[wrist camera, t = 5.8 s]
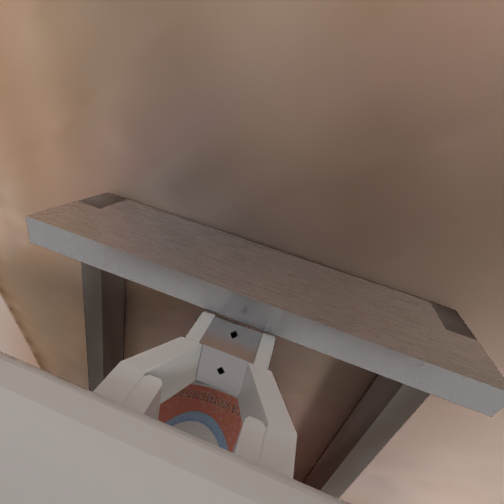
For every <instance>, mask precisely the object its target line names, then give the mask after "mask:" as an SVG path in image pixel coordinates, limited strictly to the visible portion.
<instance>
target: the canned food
mask: <svg viewBox="0 0 504 504" xmlns="http://www.w3.org/2000/svg"><path fill="white" fill-rule="evenodd" d="M237 397H238V396H235V395H233V394H231V393H228V392H226V391H224V390H222V389H219V388H217V387H215V386H212V385H209V384H207V383H204V382H201V381H197V380H195V381H194V382H192V383H191V384H189V385H188V386H186V387H185V388H183V389H182V390H180V391H179V392H178V393H176V394H175V395H173V396H172V397H170V398H169V399H167V400H166V401H164V402H163V403H161V404H160V409H159V417H158V420H159V421H161V422H163V423H166V424H168V425H170V426H173V427H175V428H177V429H179V430H182V431H184V432H186V433H189V434H191V435H193V436H196V437H198V438H200V439H202V440H205V441H207V442H209V443H212V444H214V445H216V446H219V447H221V448H223V449H225V450H228V451H230V452H232V451H233V449H234V446H235V443H236V441H237V438H238V435H239V433H240V430H241V427H242V420H241V415H240V409H239V404H238V399H237Z"/></svg>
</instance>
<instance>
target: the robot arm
mask: <svg viewBox="0 0 504 504" xmlns="http://www.w3.org/2000/svg"><path fill="white" fill-rule="evenodd" d="M262 333H263V332H260V331H257V330H255V329H252V328H249V327H246V326H244V325H241V324H238V323H235V322H233V321H230V320H228V319H225V318H223V317H220V316H218V315H215V314H212V313H210V312H207V311H204V312H202V313H201V315H200V316H199V318H198V319H197V321H196V322H195V323H194V325H193V326H192V328H191V329H190V331H189V332H188V334H187V335H186V336H185V338H184V337H182V336H181V337H178V338H176V339H173V340H171V341H169V342H166V343H164V344H161V345H159V346H156V347H154V348H152V349H149V350H147V351H144V352H142V353H139V354H137V355H135V356H132V357H130V358H127V359H125V360H122V361H120V362H119V364H118V365H117V366H116V367H115V368H114V369H113V370H112V371H111V372H110V373H109V375H108V376H107V377H106V378H105V379H104V380H103V381H102V382H101V383H100V385H99V386H98V387H97V388H96V389H95V390H94V391H93V392H92V391H90V390H88V389H85V388H83V387H81V386H78V385H76V384H74V383H72V382H69V381H67V380H65V379H62V378H60V377H58V376H55V375H53V374H51V373H49V372H46V371H44V370H42V369H39V368H37V367H35V366H33V365H30V364H28V363H26V362H23V361H21V360H19V359H16V358H14V357H12V356H10V355H7V354H5V353H3V352H0V504H350V503H347V502H345V501H343V500H340V499H338V498H336V497H334V496H331V495H329V494H327V493H324V492H322V491H320V490H318V489H315V488H313V487H311V486H308V485H306V484H304V483H301V482H299V481H297V480H295V479H293V473H294V463H295V453H296V443H297V433H296V430H295V428H294V425H293V423H292V420H291V418H290V416H289V413H288V411H287V408H286V406H285V403H284V401H283V398H282V396H281V393H280V391H279V388H278V386H277V383H276V381H275V379H274V376H273V374H272V371H269V370H268V367H269V363H270V359H271V355H272V351H273V347H274V343H275V339H276V338H275V336H272V335H269V334H266V333H263V334H262ZM195 379H196V380H198V381H201V382H204V383H207V384H209V385H212V386H215V387H217V388H219V389H222V390H224V391H226V392H228V393H231V394H233V395H235V396H238V397H237V399H238V404H239V409H240V415H241V420H242V427H241V430H240V433H239V435H238V438H237V441H236V443H235V446H234V449H233V451H232V452H230V451H228V450H225V449H223V448H221V447H219V446H216V445H214V444H212V443H209V442H207V441H205V440H202V439H200V438H198V437H196V436H193V435H191V434H189V433H186V432H184V431H182V430H179V429H177V428H175V427H173V426H170V425H168V424H166V423H163V422H161V421H159V420H158V417H159V409H160V404H161V403H163V402H164V401H166V400H167V399H169V398H170V397H172V396H173V395H175V394H176V393H178V392H179V391H180V390H182V389H183V388H185V387H186V386H188V385H189V384H191V383H192V382H194V381H195Z"/></svg>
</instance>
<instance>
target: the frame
mask: <svg viewBox="0 0 504 504" xmlns="http://www.w3.org/2000/svg"><path fill="white" fill-rule="evenodd" d="M26 221H27V227H28V233H29V240H30V243H33V244H36V245H38V246H41V247H44V248H46V249H49V250H51V251H54V252H57V253H59V254H62V255H65V256H67V257H70V258H73V259H75V260H78V261H81V263H82V279H83V296H84V312H85V328H86V344H87V361H88V377H89V390H90V391H92V392H93V391H94V390H95V389H96V388H97V387H98V386H99V385H100V383H101V382H102V381H103V380H104V379H105V378H106V377H107V376H108V375H109V373H110V372H111V371H112V370H113V369H114V368H115V367H116V366H117V365H118V364H119V362H120V361H122V360H123V341H124V305H125V279H128V280H131V281H133V282H136V283H139V284H141V285H144V286H147V287H149V288H152V289H155V290H157V291H160V292H162V293H165V294H168V295H170V296H173V297H176V298H178V299H181V300H184V301H186V302H189V303H192V304H194V305H197V306H199V307H202V308H205V309H207V310H210V311H213V312H215V313H218V314H221V315H223V316H226V317H229V318H231V319H234V320H236V321H239V322H242V323H244V324H247V325H250V326H252V327H255V328H258V329H260V330H263V331H266V332H268V333H271V334H273V335H276V336H279V337H281V338H284V339H287V340H289V341H292V342H295V343H297V344H300V345H303V346H305V347H308V348H310V349H313V350H316V351H318V352H321V353H324V354H326V355H329V356H332V357H334V358H337V359H340V360H342V361H345V362H347V363H350V364H353V365H355V366H358V367H361V368H363V369H366V370H369V371H371V372H374V373H377V374H379V375H378V376H377V378H376V379H375V380H374V382H373V383H372V385H371V386H370V388H369V389H368V390H367V392H366V393H365V395H364V396H363V398H362V399H361V400H360V402H359V403H358V405H357V406H356V408H355V409H354V410H353V412H352V413H351V415H350V416H349V418H348V419H347V421H346V422H345V423H344V425H343V426H342V428H341V429H340V431H339V432H338V433H337V435H336V436H335V438H334V439H333V441H332V442H331V443H330V445H329V446H328V448H327V449H326V451H325V452H324V454H323V455H322V456H321V458H320V459H319V461H318V462H317V464H316V465H315V466H314V468H313V469H312V471H311V472H310V474H309V475H308V476H307V478H306V479H305V481H304V482H303V483H304V484H306V485H308V486H311V487H313V488H315V489H318V490H320V491H322V492H324V493H327V494H329V495H331V496H334V497H336V498H339V497H340V496H341V495H342V494H343V493H344V492H345V491H346V489H347V488H348V487H349V486H350V485H351V484H352V483H353V481H354V480H355V479H356V478H357V477H358V476H359V475H360V473H361V472H362V471H363V470H364V469H365V468H366V467H367V465H368V464H369V463H370V462H371V461H372V460H373V459H374V457H375V456H376V455H377V454H378V453H379V452H380V451H381V449H382V448H383V447H384V446H385V445H386V444H387V443H388V441H389V440H390V439H391V438H392V437H393V436H394V435H395V433H396V432H397V431H398V430H399V429H400V428H401V427H402V425H403V424H404V423H405V422H406V421H407V420H408V419H409V417H410V416H411V415H412V414H413V413H414V412H415V411H416V409H417V408H418V407H419V406H420V405H421V404H422V403H423V402H424V400H425V399H426V398H427V397H428V396H429V395H430V394H432V395H435V396H437V397H440V398H443V399H445V400H448V401H451V402H453V403H456V404H458V405H461V406H464V407H466V408H469V409H472V410H474V411H477V412H480V413H482V414H485V415H488V416H490V417H493V416H494V415H495V414H496V413H497V412H498V411H499V410H500V409H502V408H503V407H504V377H503V376H502V374H501V373H500V372H499V370H498V369H497V367H496V366H495V365H494V363H493V362H492V360H491V359H490V358H489V356H488V355H487V353H486V352H485V351H484V349H483V348H482V346H481V345H480V344H479V342H478V341H477V339H476V338H475V337H474V335H473V334H472V332H471V331H470V330H469V328H468V327H467V325H466V324H465V323H464V321H463V320H462V319H461V317H460V316H459V314H458V313H457V312H456V310H453V309H450V308H447V307H444V306H441V305H438V304H435V303H432V302H429V301H426V300H423V299H420V298H417V297H414V296H411V295H408V294H406V293H403V292H400V291H397V290H394V289H391V288H388V287H385V286H382V285H379V284H376V283H373V282H370V281H367V280H364V279H361V278H358V277H355V276H352V275H349V274H346V273H344V272H341V271H338V270H335V269H332V268H329V267H326V266H323V265H320V264H317V263H314V262H311V261H308V260H305V259H302V258H299V257H296V256H293V255H290V254H287V253H284V252H282V251H279V250H276V249H273V248H270V247H267V246H264V245H261V244H258V243H255V242H252V241H249V240H246V239H243V238H240V237H237V236H234V235H231V234H228V233H225V232H222V231H220V230H217V229H214V228H211V227H208V226H205V225H202V224H199V223H196V222H193V221H190V220H187V219H184V218H181V217H178V216H175V215H172V214H169V213H166V212H163V211H160V210H158V209H155V208H152V207H149V206H146V205H143V204H140V203H137V202H134V201H131V200H128V199H125V198H122V197H119V196H116V195H113V194H110V193H105V194H102V195H98V196H94V197H91V198H87V199H84V200H80V201H77V202H73V203H70V204H66V205H62V206H59V207H55V208H52V209H48V210H45V211H41V212H38V213H34V214H30V215H27V216H26Z"/></svg>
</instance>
